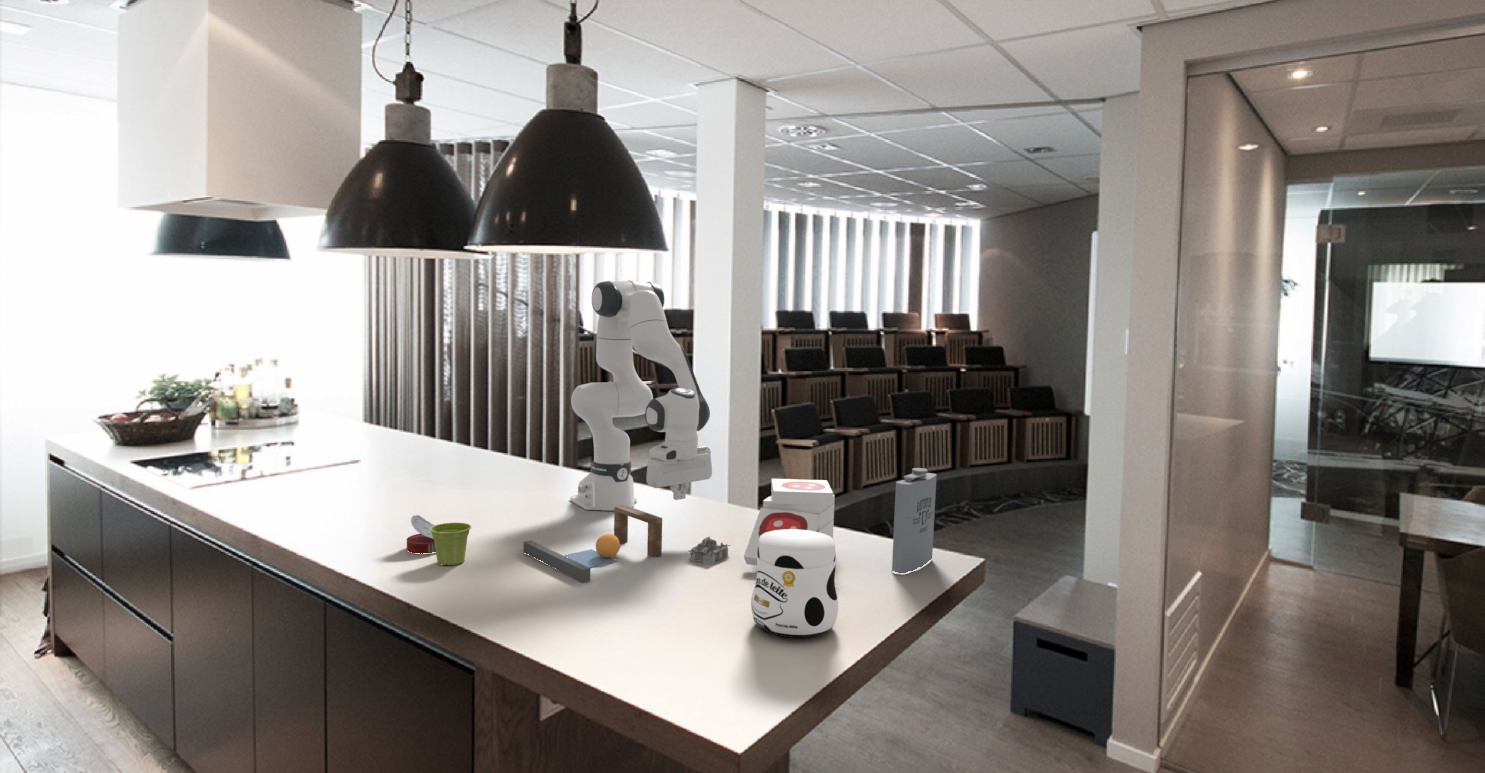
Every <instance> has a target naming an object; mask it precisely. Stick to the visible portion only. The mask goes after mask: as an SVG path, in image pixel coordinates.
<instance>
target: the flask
mask: <svg viewBox="0 0 1485 773" xmlns="http://www.w3.org/2000/svg"><path fill="white" fill-rule="evenodd" d="M911 471H912V472H911V473H910V474H907V475H903V478H904V479H902V480H898V481H895V494H894V496H895V498H894V519H893V539H892V560H891V561H892V562H891V572H892V571H895V572H898V573H906V572H908V571H913V570H915V569H917V568H918V567H922V566H923V565H924V564H926V563H927V562H928V561H929V560H931V559H932V560H933V549H934V548H933V546H934V533H935V531H934V528H935V527H934V526H935V511H936V510H935V507H936V495H937V494H936V493H937V491H936V490H937V475H938V474H936V473H934V472H932V473H931V472H928V469H927V468H923V467H922V468H921V467H913V468H912V470H911Z"/></svg>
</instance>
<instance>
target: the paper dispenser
mask: <svg viewBox="0 0 1485 773" xmlns="http://www.w3.org/2000/svg"><path fill="white" fill-rule="evenodd" d="M770 486H771V487H770V491H771V495H770V496H768V497H766V498H765V499H763V500H762V507H760V509H759V511H758V515H757V519H756V521H755V523H754V526H753V530H752V531H751V532H752V533H751V535H750V537H749V538H750V539H749V541H748V544H747V546H746V550H745V552H744V555H743V558H744V561H745V563H746V565H750V566H751V565H752V566H757V557H758V555H757V551H758V543H759V538H760V536H761V535H762V534H764V533H766V532H770V531H774V530H783V529H799V530H809V531H814V532H819V533H823V534H825V535H828V536H830V537H831V538H833V539H834V519H835V500H836V498H835V496H836V495H835V494H834V491H833V489H832V488H831V486H830V484H829V482H828V480H826V479H825V480H824V479H796V478H795V479H794V478H771V484H770Z"/></svg>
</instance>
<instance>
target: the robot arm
mask: <svg viewBox="0 0 1485 773" xmlns="http://www.w3.org/2000/svg"><path fill="white" fill-rule="evenodd" d="M591 305H592V309H593V311H594V312H595V314H597V315H598V320H597V327H596V347H595V348H596V349H595V352H596V353H595V359H596V360H595V361H596V363H597V365H598V366H599V367H600V368H601V369H603V370H605V371H607V372H609V373H611V374H612V377H613V381H610V382H589V383H584V384H581V385H580V384H579V385H578V386H576V387H575V388H574V390H573V392H572V394H571V398H570V399H571V400H570V402H571V403H570V404H571V407H572V410H573V412H574V413H575V414H576V415H577V416H578V417H579V418H581V419H582V420H583V421H584V422H585V423H586V424H587V426H588V428H589V429H590V432H591V435H592V442H593V461H590V462H589V463H591V464H589V466H591V467H590V470H589V471H590V472H589V473H588V474H587V475H586V476H584V478H582V479H581V480H580V481H579V482H578V485H577V486H578V487H577V494H575V495H572V496H570V499H569V500H570V502H572V503H574V504H575V505H577V506H578V507H580V508H582V509H584V510H585V511H608V512H609V511H610V512H611V511H614V506H620V505H626V506H629V507H632V508H634V506H635V504H636V503H637V502H638V500H637V498H635V490H634V488H635V487H634V478H633V476H632V475H631V473H632V462H631V460H630V458H631V457H630V456H631V455H630V454H631V451H630V450H631V439H630V437H629V435H628V433H627V432H625V431H624V430H623V429H621V428H619V427H616V426H615V425H614V423H613V422H614V421H613V418H629V417H630V418H632V417H633V418H634V417H637V416H641V415H645V423H646V424H647V426H648V427H649V429H651V431H653V432H659V433H664V432H665V437H664V441H662V442H661V443H660V444H657V445H656V446H654V447H652V448H650V449H649V451H648V456H649V457H650V459H649V460H648V463H647V468H646V484H647V485H648V486H649V487H651V488H654V489H657V488H658V489H659V488H665V487H669V488H670V490H671V492H672V493H673V494H672V497H673V500H674V501H679V500H685V499H686V496H687V495H686V494H687V492H688V490H689V488H690V483H693V482H699V481H706V480H710V479H711V478H712V474H713V468H712V467H713V466H712V455H711V453H712V451H711V449H710V448H709V447H707V445H702V446H698V445H699V435H698V432H700V431H702V429H704V427H705V426H706V425H707V424H708V422H709V420H710V416H711V411H710V407H709V404H708V402H707V400H706V398H705V397H704V395H703V393H702V391H701V389H700V388H701V387H700V386H699V384H698V380H697V378H696V375H695V373H694V370H693V367H692V365H691V362H690V360H689V357H688V354H687V352H686V350H685V348H684V347H683V345H681V344H680V343H679V342H678V341H676V339H675V337H674V336H673V335H672V333H671V331H670V329H669V325H668V321H667V317H666V314H665V311H664V306H665V294H664V291H663V289H662V287H661V286H660V285H659V284H658V283H655V282H651V281H646V282H645V281H639V280H629V279H628V280H616V281H611V280H606V281H601V282H598V283H596V285H595V286H594V287H593V289H592V293H591ZM633 350H635V352H636V353H638V354H639V355H640V356H642V357H643V358H645V359H646V360H650V361H653V362H656V363H659V364H662V365H663V366H665V367H667V368H668V369H669V370H671V372H672V374H674V378H675V379H676V380H675V381H676V383H677V385H678V387H675V388H672V389H669V391H668V392H667V394H665V395H663V396H658V397H656V398H654V396H653V393H652V392H653V391H652V389H651V388H650V387H649V386H648V385H647V384H646V383H645V382H643V380H642V379H641V378H640V377H639V375H638V373H637V371H636V368H635V365H634V364H635V363H634V356H633V355H634V354H633ZM680 485H681V488H680ZM679 488H680V490H679Z"/></svg>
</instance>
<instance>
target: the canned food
mask: <svg viewBox="0 0 1485 773" xmlns="http://www.w3.org/2000/svg"><path fill="white" fill-rule="evenodd" d="M410 519H411V520H410V522H411V526H412V527H413V528H414V530H415V531H416V532H418V533H416V534H413V535H410V536H408V537H407V538H406V551H407V550H408V551H409V552H412V553H420V554H421V553H422V554H423V553H432V552H436V549H435V543H434V538H433V536H432V532H431V531H430V528H431V527H432V526H435V525H436V524H433V523H431V522H429V521H428V520H426V519H425V518H424V517H422V516H421V515H419V514H416V515H414V514H413V516H412V517H411V518H410ZM409 552H408V553H409Z"/></svg>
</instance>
